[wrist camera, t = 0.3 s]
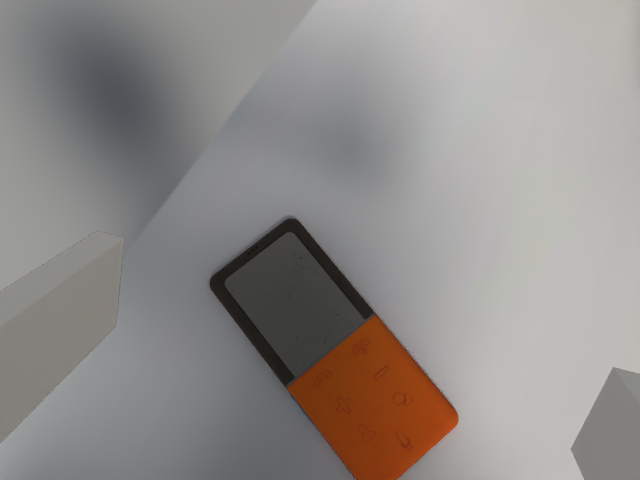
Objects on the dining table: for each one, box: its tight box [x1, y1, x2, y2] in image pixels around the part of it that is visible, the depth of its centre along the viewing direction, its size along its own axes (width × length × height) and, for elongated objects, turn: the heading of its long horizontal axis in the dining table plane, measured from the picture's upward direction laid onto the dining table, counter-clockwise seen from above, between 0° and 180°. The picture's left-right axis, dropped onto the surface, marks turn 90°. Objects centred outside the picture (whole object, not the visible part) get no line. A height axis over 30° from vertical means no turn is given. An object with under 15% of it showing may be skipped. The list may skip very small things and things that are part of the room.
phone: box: [210, 219, 458, 480], centre depth 30 cm, size 6×1×15 cm
